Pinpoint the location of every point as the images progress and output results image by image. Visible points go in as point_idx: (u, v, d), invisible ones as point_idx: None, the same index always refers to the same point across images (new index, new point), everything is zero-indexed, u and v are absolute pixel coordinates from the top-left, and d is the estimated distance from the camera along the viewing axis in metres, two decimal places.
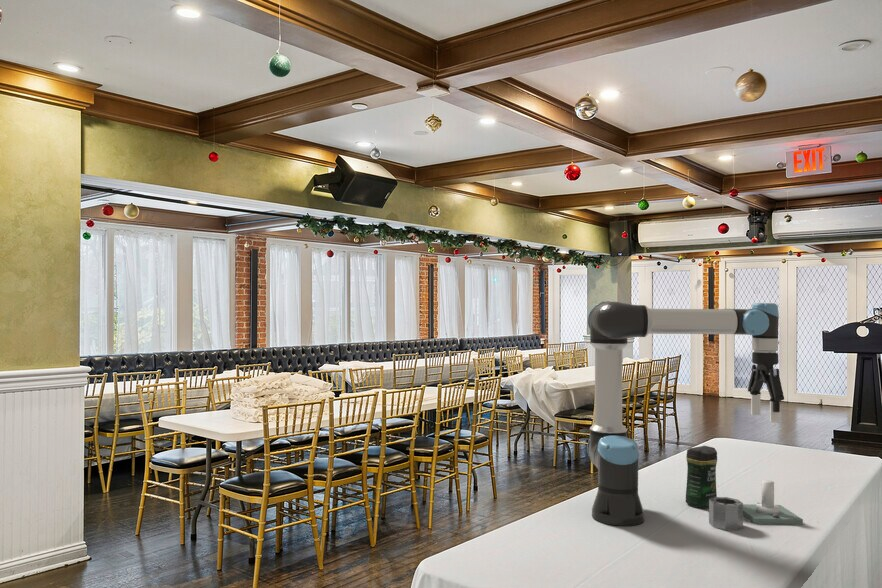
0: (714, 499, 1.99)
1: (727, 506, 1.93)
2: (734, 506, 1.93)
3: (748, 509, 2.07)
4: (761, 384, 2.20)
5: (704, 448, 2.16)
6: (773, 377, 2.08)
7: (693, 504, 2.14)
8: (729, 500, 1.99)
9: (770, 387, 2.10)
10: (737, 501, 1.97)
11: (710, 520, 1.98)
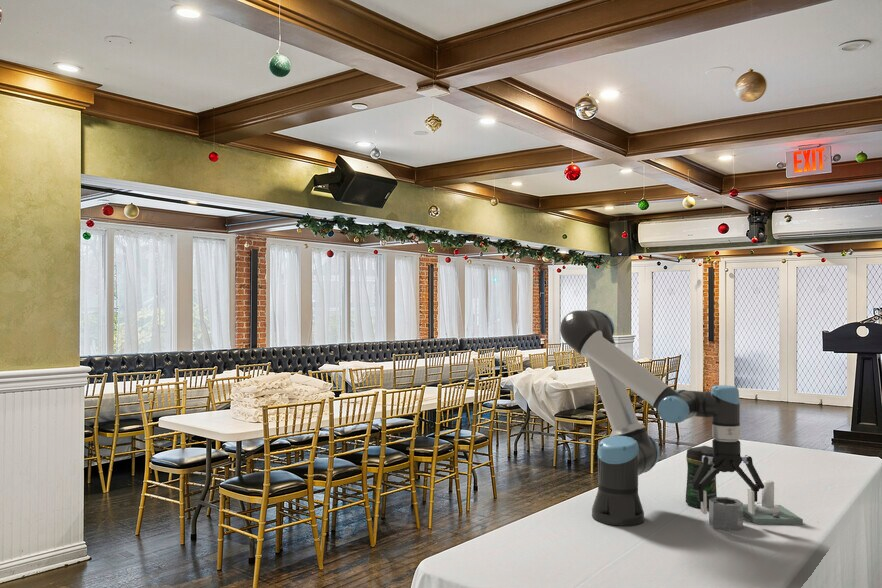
0: (714, 499, 1.99)
1: (727, 506, 1.93)
2: (734, 506, 1.93)
3: None
4: (743, 478, 1.96)
5: (704, 448, 2.16)
6: (700, 464, 1.98)
7: (693, 504, 2.14)
8: (729, 500, 1.99)
9: (706, 475, 1.98)
10: (737, 501, 1.97)
11: (710, 520, 1.98)
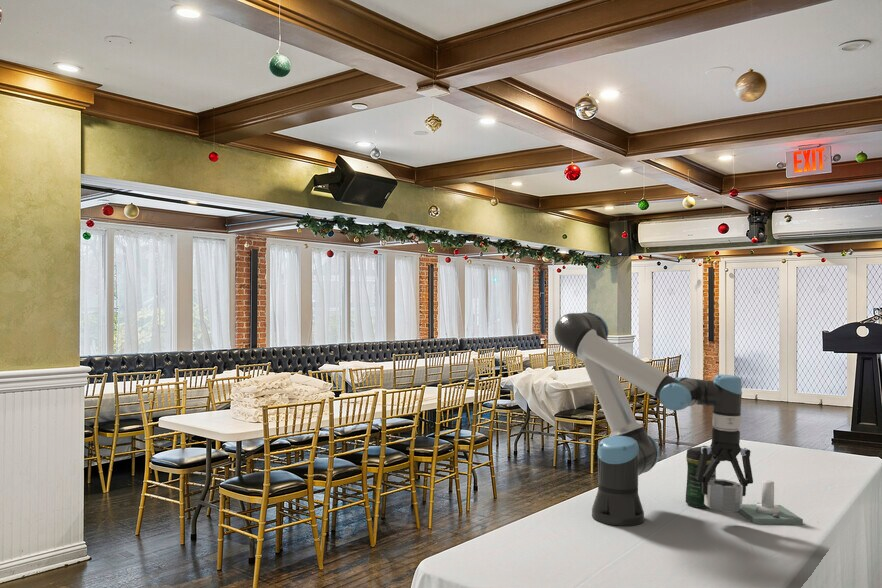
0: (712, 481, 1.99)
1: (725, 488, 1.93)
2: (732, 488, 1.93)
3: (748, 509, 2.07)
4: (736, 469, 1.97)
5: None
6: (701, 456, 1.98)
7: (693, 504, 2.14)
8: (727, 482, 2.00)
9: (708, 467, 1.99)
10: (735, 483, 1.97)
11: None
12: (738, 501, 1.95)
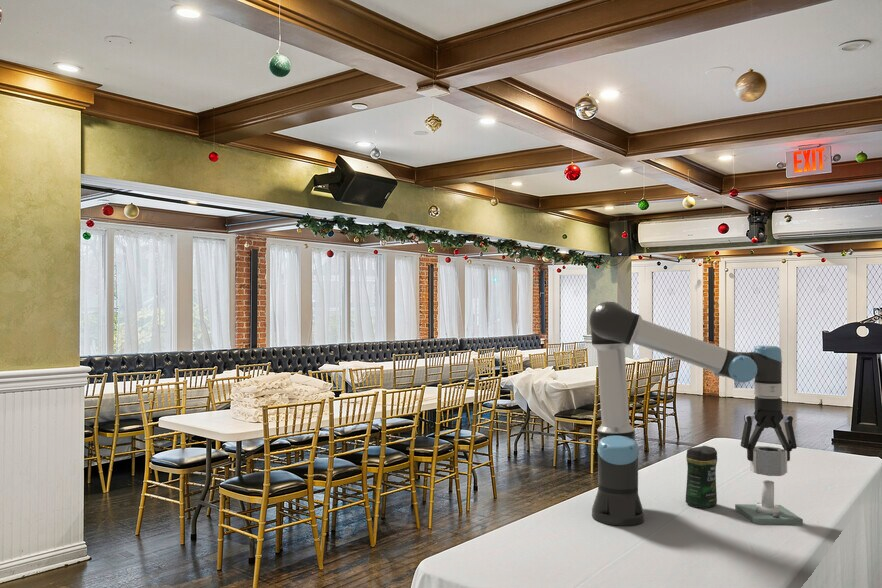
0: (757, 448, 2.07)
1: (771, 453, 2.02)
2: (777, 453, 2.02)
3: (748, 509, 2.07)
4: (779, 435, 2.05)
5: (704, 448, 2.16)
6: (745, 424, 2.07)
7: (693, 504, 2.14)
8: (771, 449, 2.08)
9: (752, 434, 2.07)
10: (779, 449, 2.06)
11: None
12: (783, 465, 2.03)
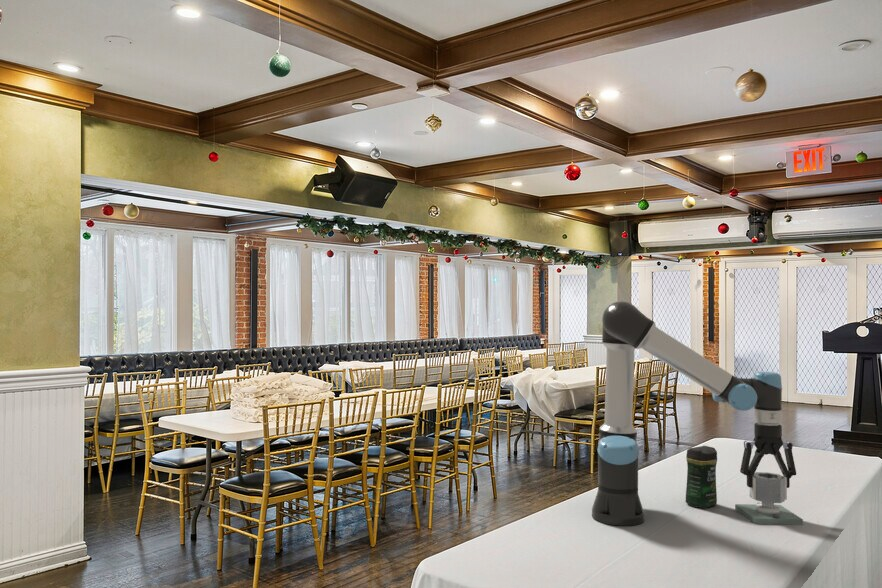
0: (756, 474, 2.07)
1: (770, 480, 2.01)
2: (777, 480, 2.01)
3: (748, 509, 2.07)
4: (779, 462, 2.05)
5: (704, 448, 2.16)
6: (744, 450, 2.07)
7: (693, 504, 2.14)
8: (771, 475, 2.08)
9: (752, 461, 2.07)
10: (779, 476, 2.05)
11: None
12: (783, 492, 2.03)
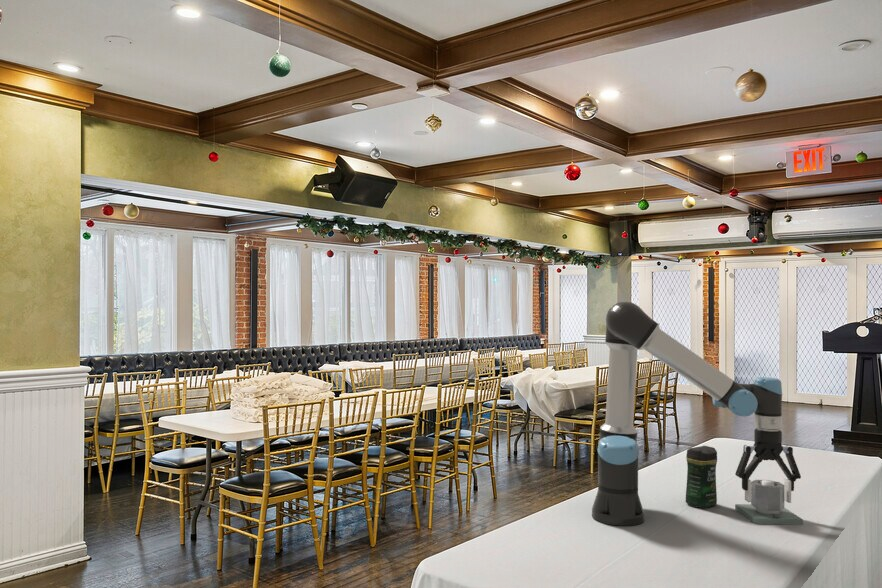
0: (756, 481, 2.07)
1: (770, 488, 2.01)
2: (776, 488, 2.01)
3: (748, 509, 2.07)
4: (782, 467, 2.05)
5: (704, 448, 2.16)
6: (743, 454, 2.07)
7: (693, 504, 2.14)
8: None
9: (749, 464, 2.07)
10: (778, 483, 2.05)
11: (752, 502, 2.06)
12: (782, 500, 2.03)
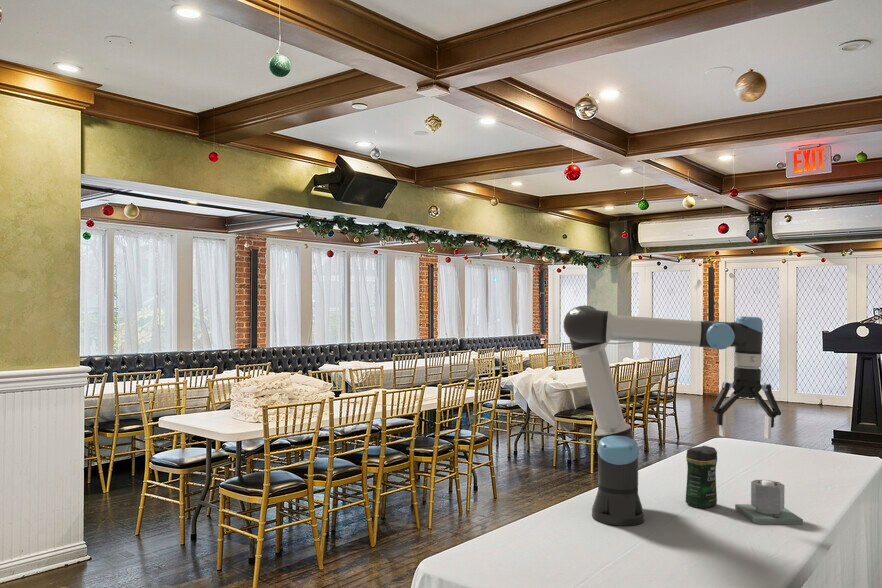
0: (756, 481, 2.07)
1: (770, 488, 2.01)
2: (776, 488, 2.01)
3: (748, 509, 2.07)
4: (761, 404, 2.05)
5: (704, 448, 2.16)
6: (721, 390, 2.07)
7: (693, 504, 2.14)
8: None
9: (726, 401, 2.07)
10: (778, 483, 2.05)
11: (752, 502, 2.06)
12: (782, 500, 2.03)
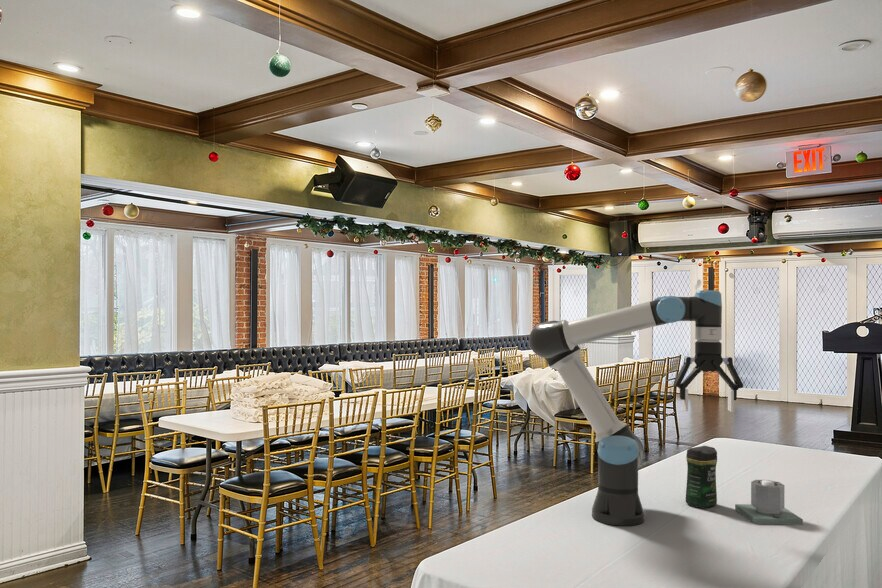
0: (756, 481, 2.07)
1: (770, 488, 2.01)
2: (776, 488, 2.01)
3: (748, 509, 2.07)
4: (723, 377, 2.06)
5: (704, 448, 2.16)
6: (683, 364, 2.08)
7: (693, 504, 2.14)
8: None
9: (688, 375, 2.08)
10: (778, 483, 2.05)
11: (752, 502, 2.06)
12: (782, 500, 2.03)
